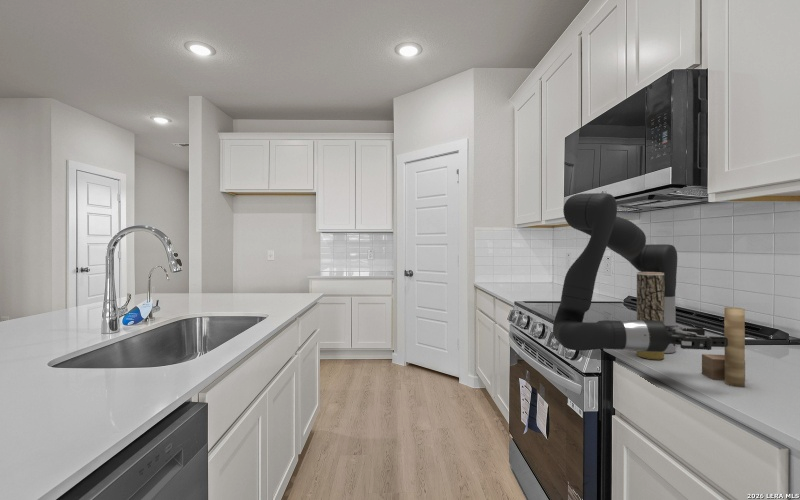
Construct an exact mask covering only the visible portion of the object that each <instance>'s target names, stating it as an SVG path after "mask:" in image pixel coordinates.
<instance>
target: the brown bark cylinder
mask: <svg viewBox="0 0 800 500" xmlns="http://www.w3.org/2000/svg"><path fill="white" fill-rule="evenodd" d="M636 320H659V321H661V322H663V323H664V273H661V272H640V271H637V272H636ZM636 354H637V356H639V357H640V358H641V359H642V358H643V359H645V360H654V361H655V360H659V361H660V360H664V358H665V353H664V351H663V352H650V351H636Z"/></svg>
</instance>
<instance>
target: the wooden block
mask: <svg viewBox="0 0 800 500" xmlns="http://www.w3.org/2000/svg"><path fill="white" fill-rule="evenodd" d="M701 374H702V375H703V376H706V377H708V378H709V379H711V380H714V381H715V380H716V381H718V380H719V381H725V354H711V353H710V354H706V353H702V354H701Z"/></svg>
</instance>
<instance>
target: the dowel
mask: <svg viewBox="0 0 800 500" xmlns="http://www.w3.org/2000/svg"><path fill="white" fill-rule="evenodd" d="M723 309H724V314H723V315H724V317H723V318H724V321H723V322H724V328H723V329H724V337H726V338H727V339H728V346H727V347H724V355H725V380H724V384H726V385H728V386H732V387H734V388H735V387H737V388H745V387H746V354H745V352H746V351H745V350H746V347H745V346H746V345H745V344H746V340H745V339H746V336H745V335H746V334H745V333H746V330H745V326H746V325H745V322H746V321H745V319H746V315H745V308H741V307H729V306H728V307H724V308H723Z"/></svg>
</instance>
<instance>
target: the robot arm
mask: <svg viewBox="0 0 800 500" xmlns="http://www.w3.org/2000/svg"><path fill="white" fill-rule="evenodd" d="M562 210H563V211H562V212H563V217H564V220H565V221H566V223H567V224H568V225H569V226H570V227H571V228H573V229H574V230H577V231H579V232H582V233H584V234H585V235H588V236H590V238H589V241H588V243H587V245H586V246H585V248H584V250H583V251H582V252H581V254H580V255H579V256H578V257H577V258H576V259H575V261H574V262H573V263H572V264H571V266H570V267H569V268H568V270H567V272H566V274H565V276H564V280H563V285H562V291H561V297H560V302H559V306H558V308H557V312H556V314H555V318H554V319H553V320H554V321H553V326H552V334H553V337H554V339H555V340H556V341H557V343H559V344H560V345H561V346H562V347H563V348H565V349H568V350H570V351H578V352H579V351H580V352H581V351H582V352H583V351H593V350H600V349H605V350H624V351H632V352H637V351H650V352H663V351H664V354H671V353H675V352H676V347H679V348H680V349H683V350H707V351H712V347H714V348H725V347H727V346H728V339H727V338H726V337H725V336H711V335H710V336H709V335H706V333H705V332H706V331H705V329H703V328H695V327H694V328H692V327H691V328H689V327H688V328H687V327H685V326H679V325H677V324H676V289H677V275H678V274H677V270H678V269H677V268H678V252H677V249H676V247H675V246H674V245H673V244H669V243H668V244H663V243H661V244H660V243H659V244H646V243H647V237H646V234H645V232H644V231H643V230H642V229H641V228H640V227H639V226H638V225H636V224H635V223H634V222H632V221H630V220H629V219H627V218H623V217H621V216H617V215H618V214H617V213H618V204H617V201H616V198H615V196H614V195H612V194H611V193H601V192H597V193H594V192H593V193H588V192H587V193H578V194H577V193H576V194H575V195H572V196H570V197H568V199H566V201H565V202H564V206H563V209H562ZM607 248H608V249H610V250H611V251H612V252H615V253H616V254H618V255H619V256H620V257H622V258H624V259H625V260H627V262H629V263H630V264H631V265H632V266H633V267H634V268H635V269H636V270H637V271H638V272H661V273H664V323H663V322H661V321H659V320H637V319H626V320H625V319H623V320H611V319H610V320H607V319H606V320H605V319H604V320H598V321H596V322H586V321H585V322H584V317H585V314H586V313H587V312H588V311H589V310H590V309H591V305H592V300H593V295H594V289H595V285H596V279H597V275H598V272H599V270H600V269H599V268H600V265H601V262H602V260H603V257H604V254H605V252H606V249H607ZM701 342H702V343H701Z"/></svg>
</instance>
